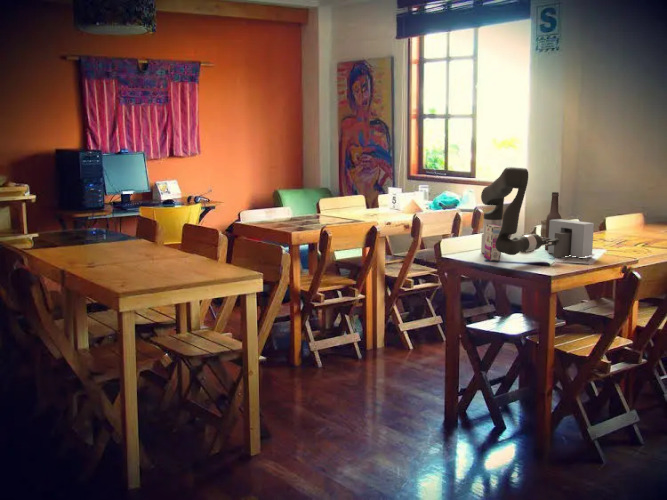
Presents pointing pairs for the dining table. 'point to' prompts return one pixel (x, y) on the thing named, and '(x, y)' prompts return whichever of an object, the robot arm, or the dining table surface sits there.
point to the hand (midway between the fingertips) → (550, 239)
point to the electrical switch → (526, 234)
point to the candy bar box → (491, 242)
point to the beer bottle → (552, 214)
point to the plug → (563, 244)
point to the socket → (574, 235)
